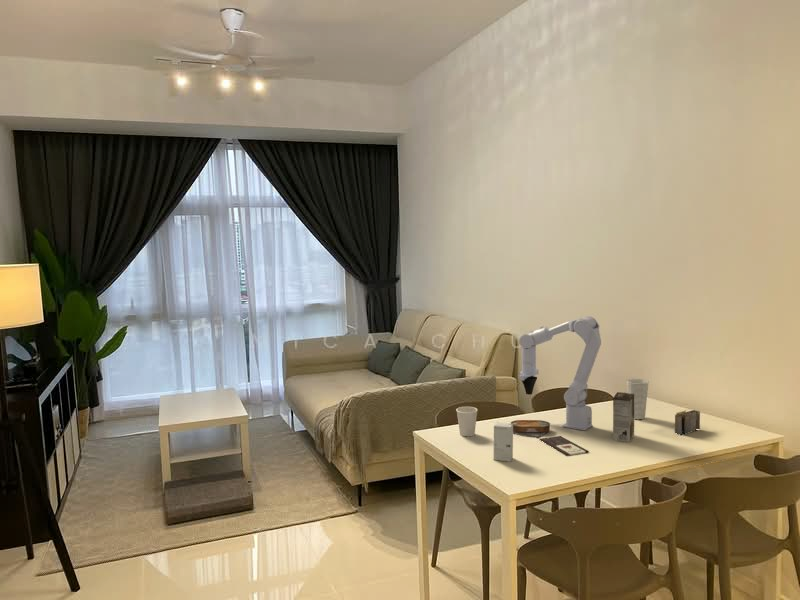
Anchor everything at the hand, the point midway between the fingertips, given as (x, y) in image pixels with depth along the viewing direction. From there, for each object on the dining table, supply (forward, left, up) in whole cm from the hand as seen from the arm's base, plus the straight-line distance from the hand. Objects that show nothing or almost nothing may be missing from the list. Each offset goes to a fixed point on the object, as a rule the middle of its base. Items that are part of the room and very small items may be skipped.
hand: (529, 394), depth 251 cm
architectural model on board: (-58, -16, -11) cm, 61 cm away
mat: (-5, +18, -10) cm, 21 cm away
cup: (-37, -24, -11) cm, 45 cm away
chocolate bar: (-25, +25, -11) cm, 37 cm away
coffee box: (-40, +4, -11) cm, 42 cm away
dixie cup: (+11, +32, -11) cm, 35 cm away
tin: (-5, +12, -9) cm, 16 cm away
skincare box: (-13, +48, -11) cm, 51 cm away
